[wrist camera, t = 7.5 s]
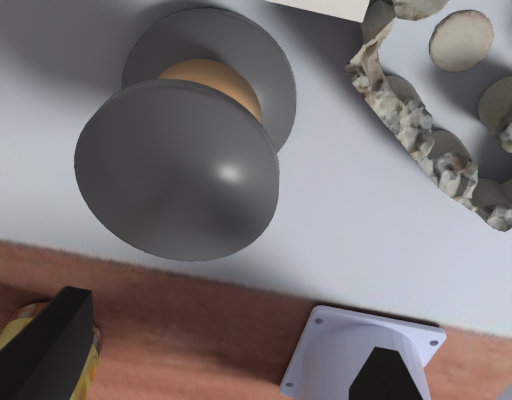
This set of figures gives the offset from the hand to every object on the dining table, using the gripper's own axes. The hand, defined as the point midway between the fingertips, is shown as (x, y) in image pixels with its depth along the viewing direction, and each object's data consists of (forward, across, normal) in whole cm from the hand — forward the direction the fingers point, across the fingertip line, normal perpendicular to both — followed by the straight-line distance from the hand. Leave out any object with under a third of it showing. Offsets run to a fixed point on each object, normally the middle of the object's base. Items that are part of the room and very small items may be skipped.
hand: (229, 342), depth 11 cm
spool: (+10, +2, -2) cm, 11 cm away
